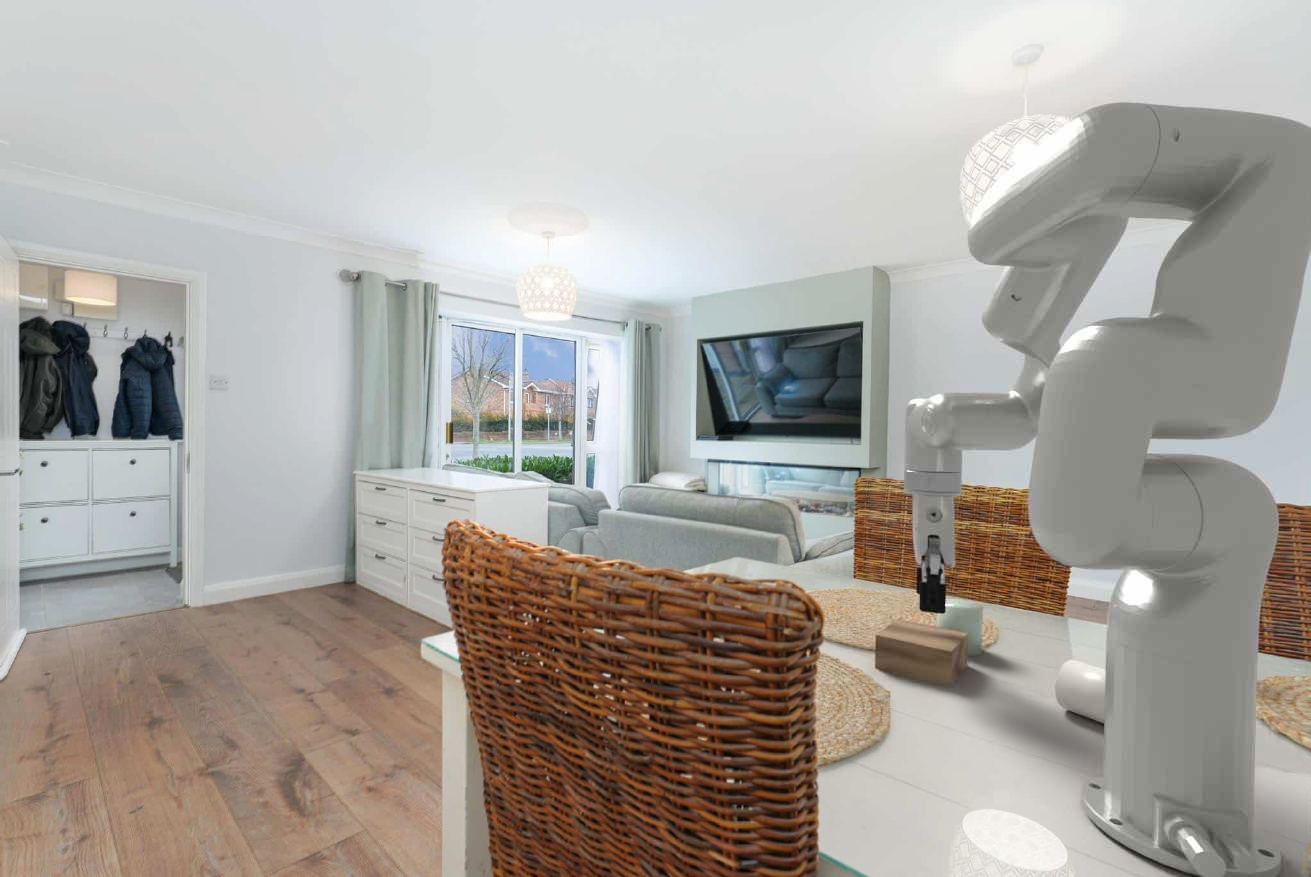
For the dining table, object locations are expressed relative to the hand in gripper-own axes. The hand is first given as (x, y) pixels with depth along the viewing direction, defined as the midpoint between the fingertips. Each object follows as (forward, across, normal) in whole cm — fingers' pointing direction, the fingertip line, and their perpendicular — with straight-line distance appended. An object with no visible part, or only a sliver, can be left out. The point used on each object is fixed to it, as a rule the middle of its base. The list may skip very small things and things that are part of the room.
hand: (930, 602), depth 86 cm
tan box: (+10, 0, +1) cm, 10 cm away
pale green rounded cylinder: (+9, +11, -5) cm, 15 cm away
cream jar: (+6, -7, -15) cm, 18 cm away
